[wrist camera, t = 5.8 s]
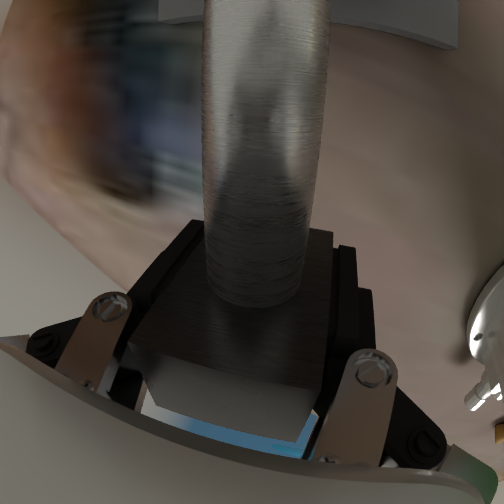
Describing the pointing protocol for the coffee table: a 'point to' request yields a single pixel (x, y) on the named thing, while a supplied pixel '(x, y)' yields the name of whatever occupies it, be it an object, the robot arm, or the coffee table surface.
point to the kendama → (499, 433)
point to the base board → (362, 17)
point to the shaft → (251, 231)
